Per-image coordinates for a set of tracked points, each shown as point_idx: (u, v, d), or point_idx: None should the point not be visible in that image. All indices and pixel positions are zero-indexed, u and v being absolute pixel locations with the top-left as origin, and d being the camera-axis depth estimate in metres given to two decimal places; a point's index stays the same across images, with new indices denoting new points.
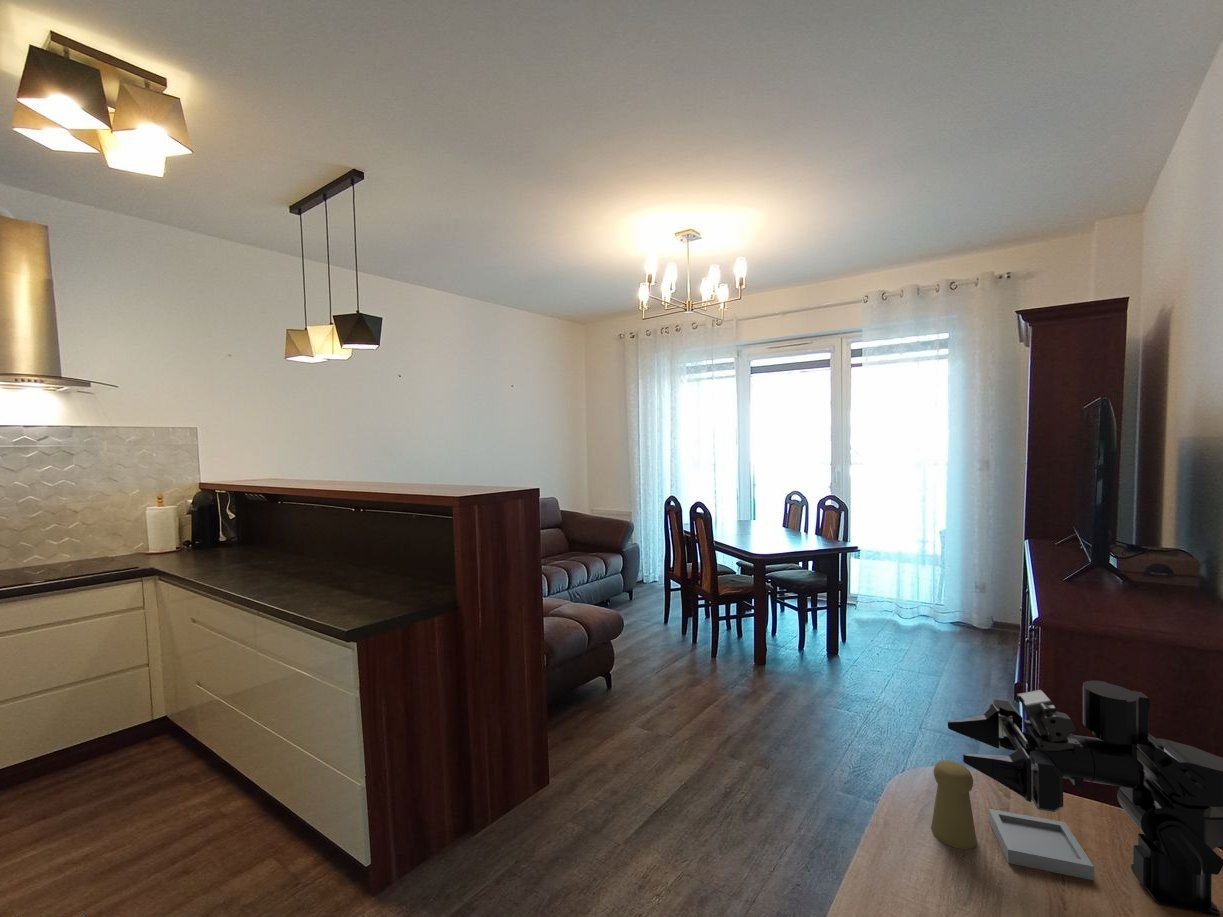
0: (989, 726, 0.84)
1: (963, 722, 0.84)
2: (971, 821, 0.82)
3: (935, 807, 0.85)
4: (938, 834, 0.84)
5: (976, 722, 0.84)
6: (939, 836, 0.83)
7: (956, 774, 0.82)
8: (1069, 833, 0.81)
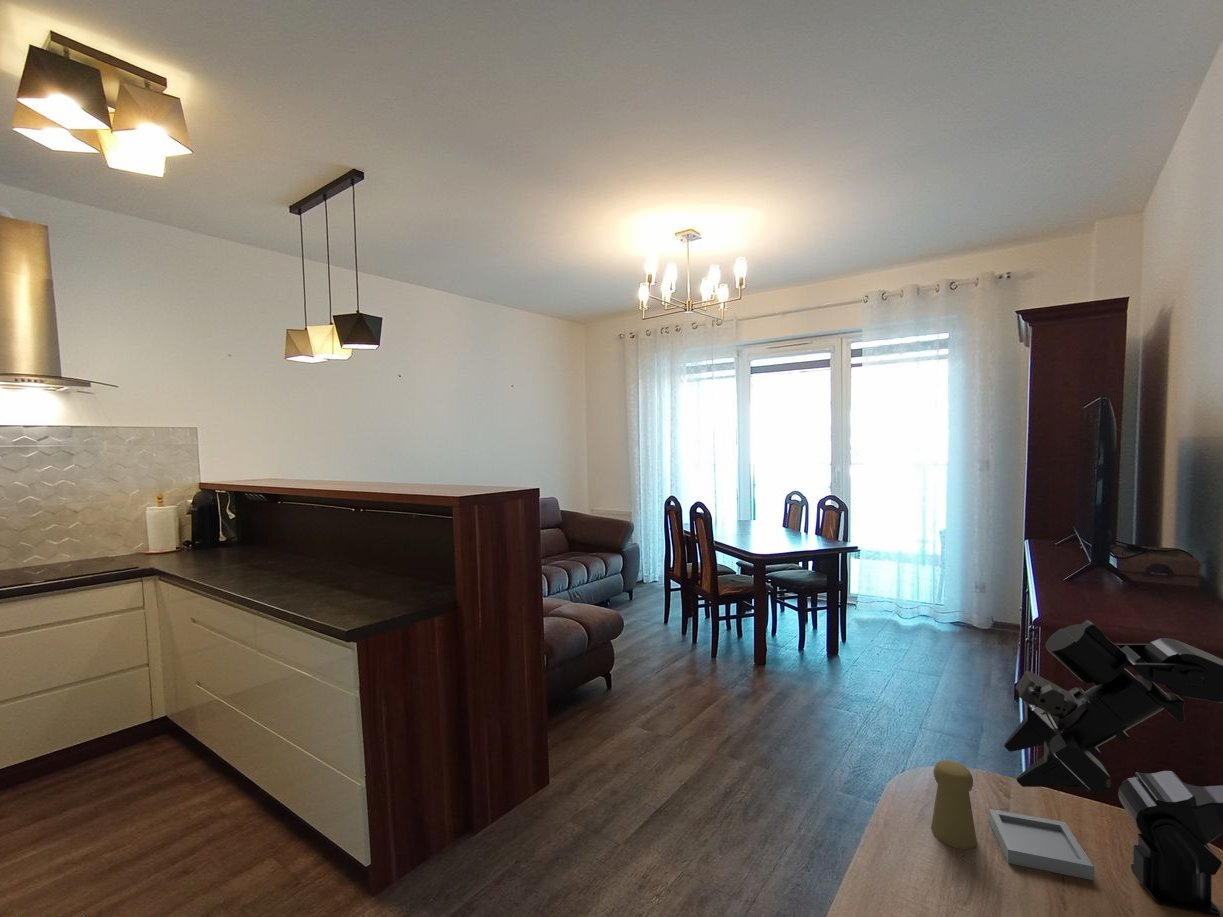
0: (1035, 725, 0.83)
1: (1014, 737, 0.84)
2: (971, 821, 0.82)
3: (935, 807, 0.85)
4: (938, 834, 0.84)
5: (1023, 729, 0.83)
6: (939, 836, 0.83)
7: (956, 774, 0.82)
8: (1069, 833, 0.81)
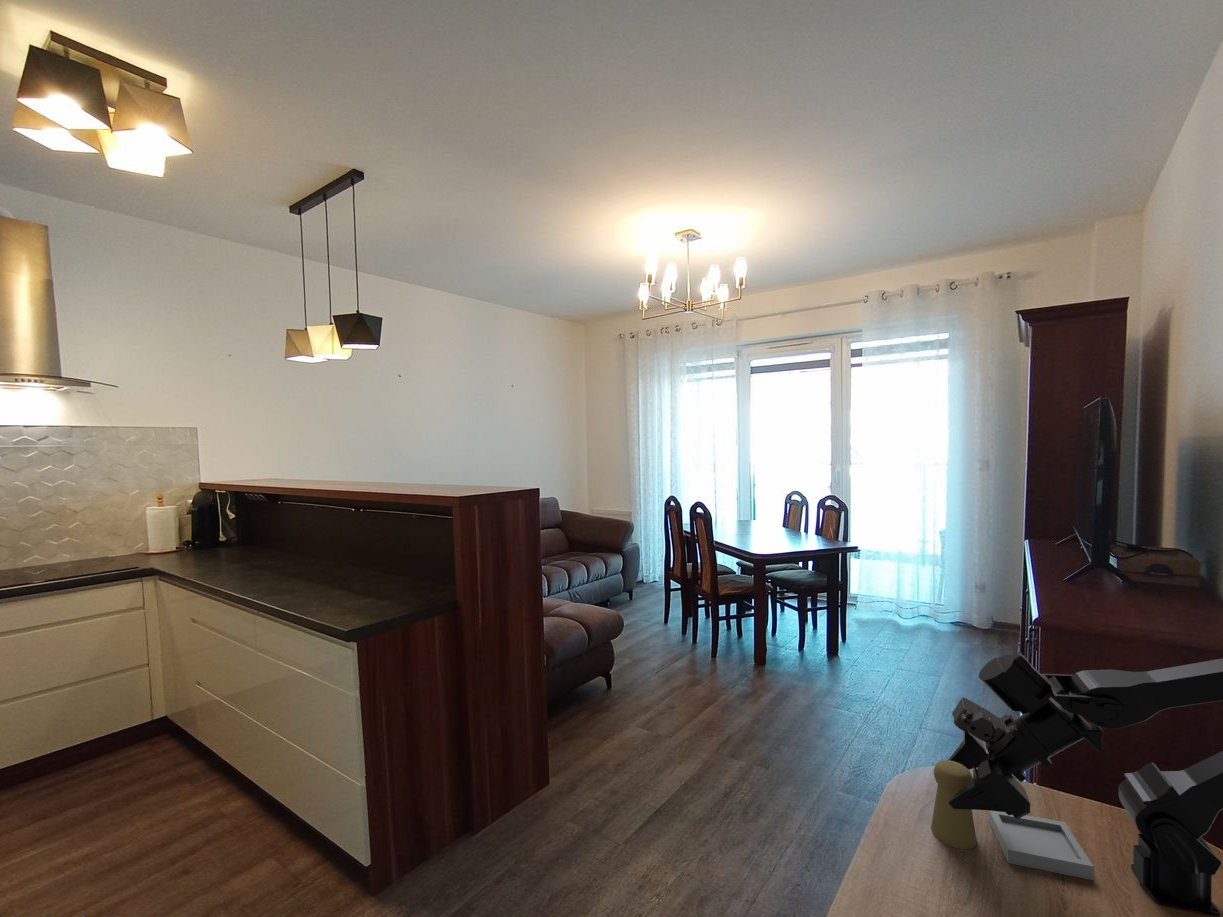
0: (972, 749, 0.87)
1: (952, 760, 0.88)
2: (971, 821, 0.82)
3: (935, 807, 0.85)
4: (938, 834, 0.84)
5: (960, 752, 0.87)
6: (939, 836, 0.83)
7: (956, 774, 0.82)
8: (1069, 833, 0.81)
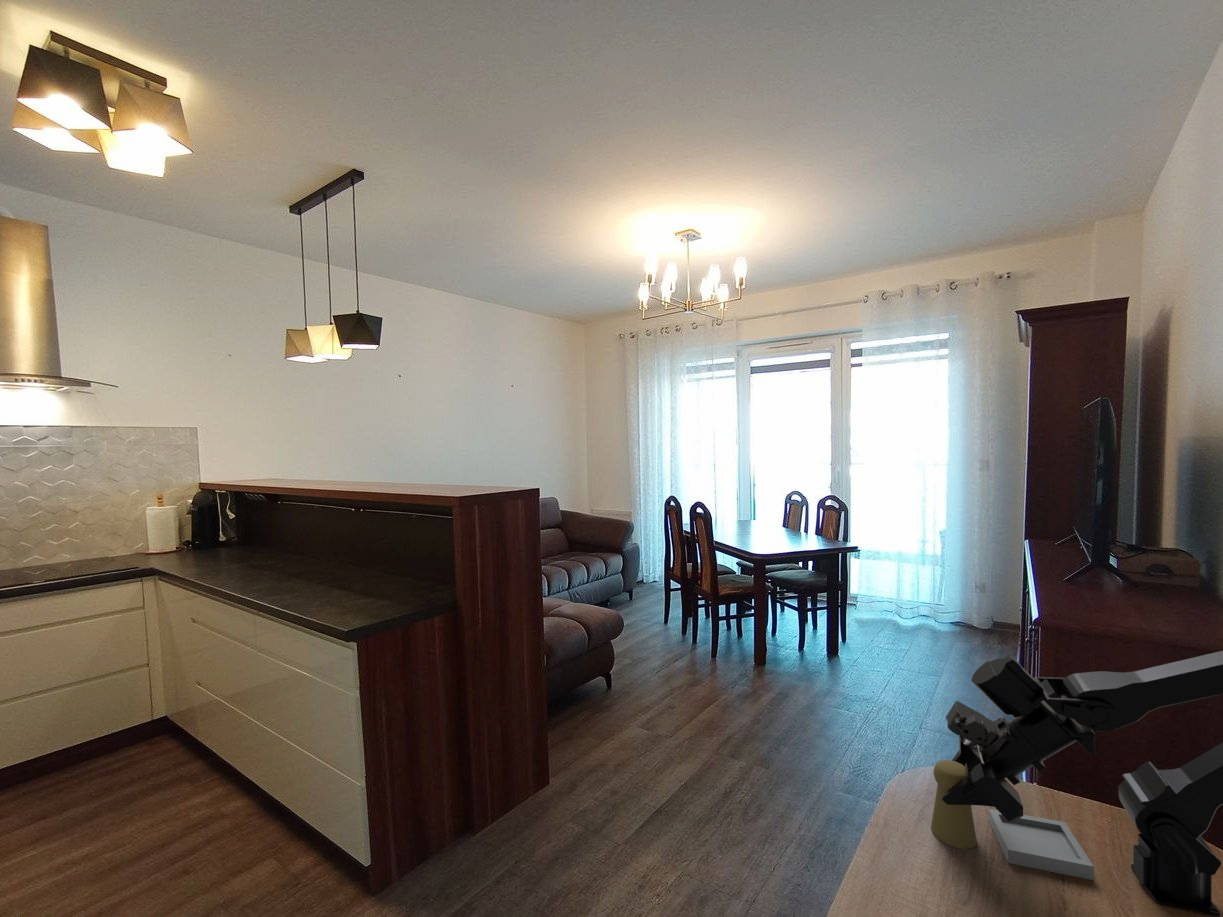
0: (968, 759, 0.86)
1: None
2: (971, 821, 0.82)
3: (935, 807, 0.85)
4: (938, 834, 0.84)
5: None
6: (939, 836, 0.83)
7: (956, 773, 0.82)
8: (1069, 833, 0.81)
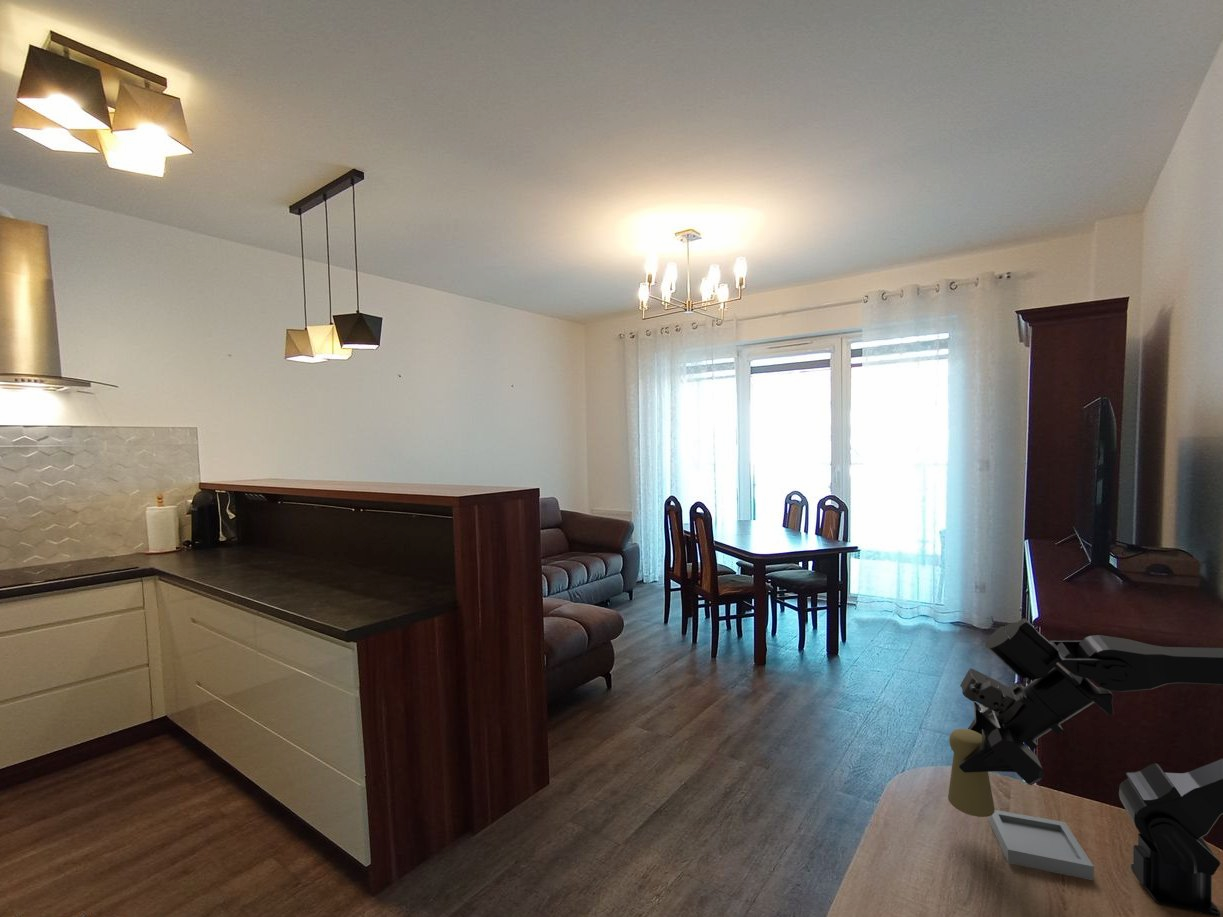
0: (984, 727, 0.85)
1: None
2: (989, 789, 0.81)
3: (952, 776, 0.84)
4: (955, 803, 0.83)
5: None
6: (956, 805, 0.82)
7: (972, 741, 0.81)
8: (1069, 833, 0.81)
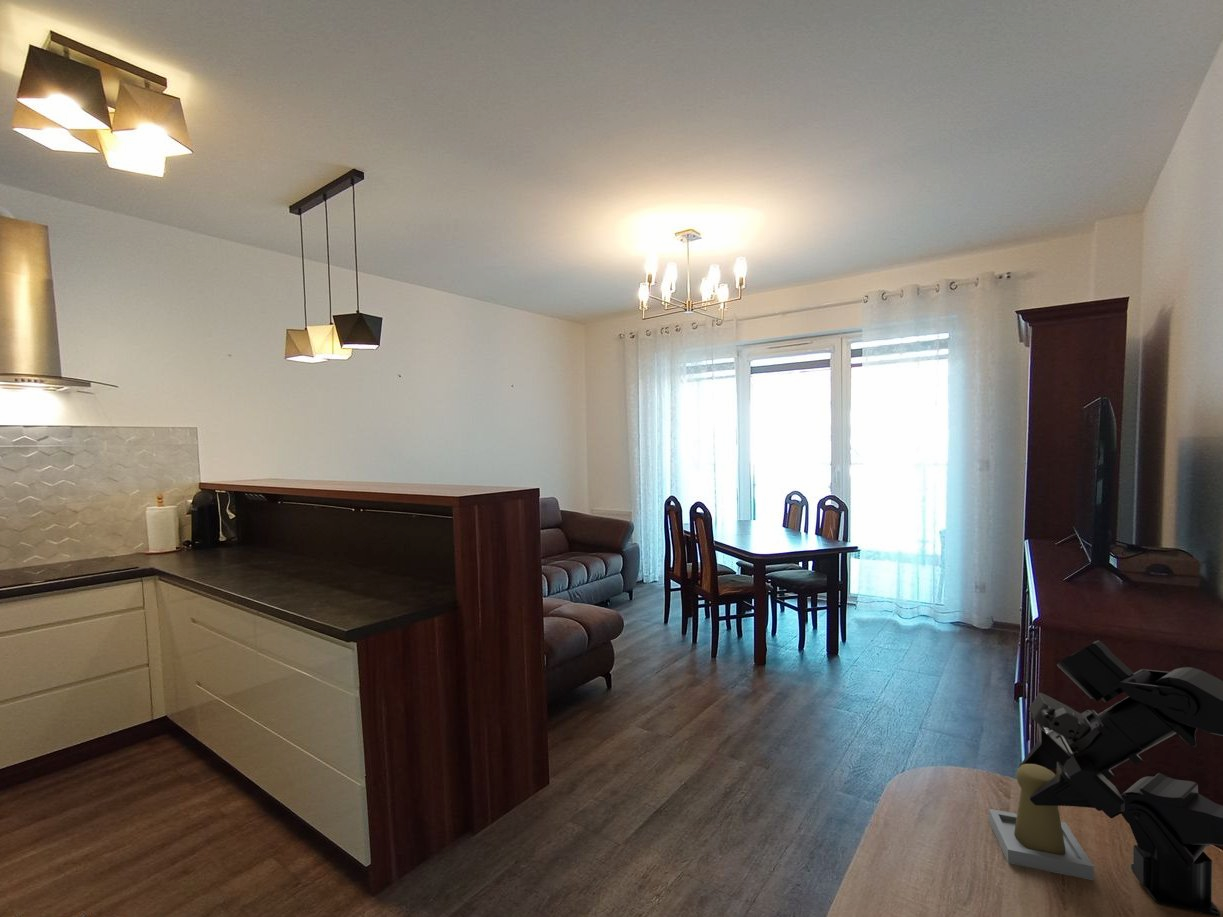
0: (1049, 748, 0.83)
1: (1028, 760, 0.84)
2: (1060, 827, 0.79)
3: (1019, 813, 0.81)
4: (1024, 841, 0.80)
5: (1037, 753, 0.84)
6: (1025, 843, 0.80)
7: (1043, 778, 0.79)
8: (1069, 833, 0.81)
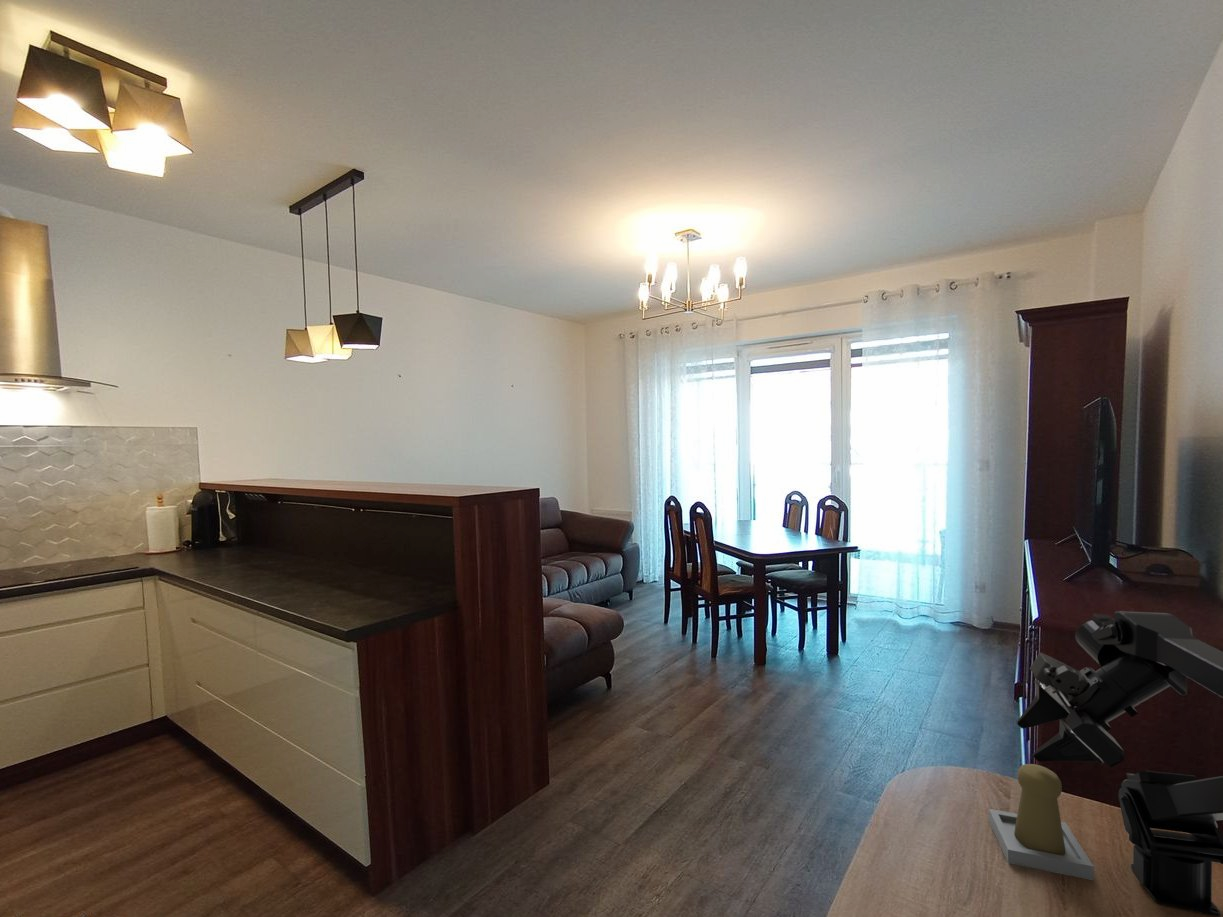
0: (1046, 703, 0.88)
1: (1026, 715, 0.89)
2: (1060, 828, 0.79)
3: (1019, 813, 0.81)
4: (1024, 841, 0.80)
5: (1034, 707, 0.88)
6: (1025, 843, 0.80)
7: (1044, 778, 0.79)
8: (1069, 833, 0.81)
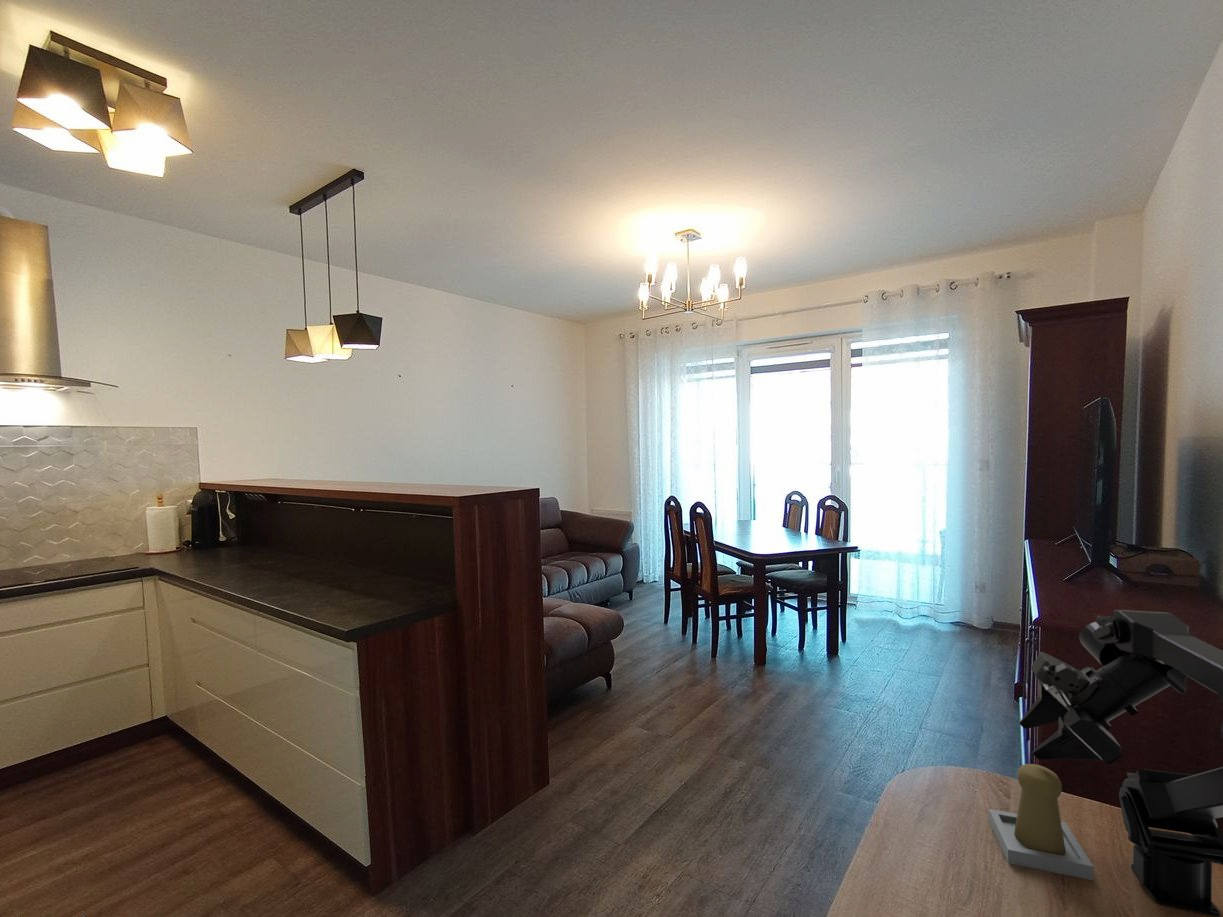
0: (1049, 704, 0.88)
1: (1029, 715, 0.89)
2: (1060, 828, 0.79)
3: (1019, 813, 0.81)
4: (1024, 841, 0.80)
5: (1037, 708, 0.89)
6: (1025, 843, 0.80)
7: (1044, 778, 0.79)
8: (1069, 833, 0.81)
